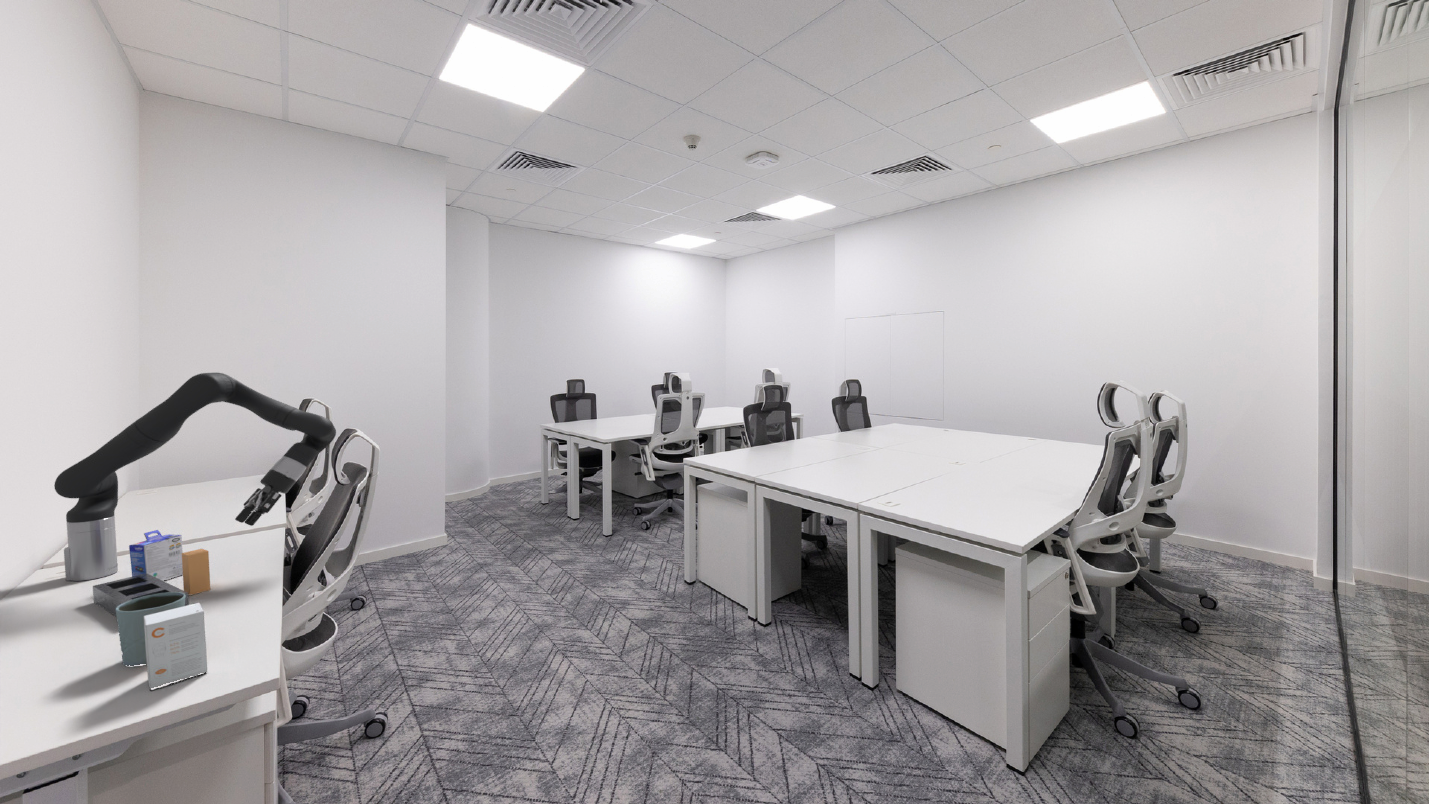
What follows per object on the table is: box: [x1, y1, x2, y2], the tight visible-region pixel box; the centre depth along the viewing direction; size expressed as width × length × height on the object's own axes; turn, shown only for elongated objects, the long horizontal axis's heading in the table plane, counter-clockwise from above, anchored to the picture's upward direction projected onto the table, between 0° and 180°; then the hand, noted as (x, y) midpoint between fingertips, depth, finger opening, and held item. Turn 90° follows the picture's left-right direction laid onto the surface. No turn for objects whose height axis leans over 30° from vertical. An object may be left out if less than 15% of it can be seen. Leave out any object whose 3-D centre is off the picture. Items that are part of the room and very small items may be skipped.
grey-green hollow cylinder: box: [115, 592, 186, 666], centre depth 112 cm, size 10×10×12 cm
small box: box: [144, 602, 208, 690], centre depth 104 cm, size 8×6×13 cm
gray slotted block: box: [92, 573, 190, 618], centre depth 136 cm, size 28×10×4 cm, turn 62°
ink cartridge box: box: [128, 529, 184, 582], centre depth 153 cm, size 10×6×14 cm, turn 174°
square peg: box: [182, 548, 211, 596], centre depth 146 cm, size 4×4×11 cm
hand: (243, 522), depth 153 cm, fingers open, 8 cm apart
